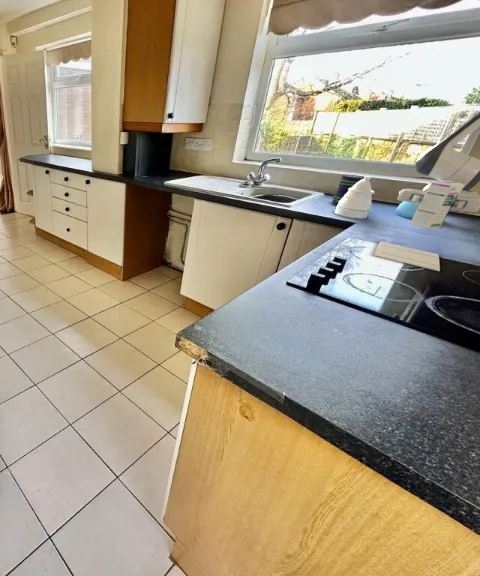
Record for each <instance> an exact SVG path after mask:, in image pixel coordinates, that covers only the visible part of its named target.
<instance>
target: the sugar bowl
mask: <svg viewBox="0 0 480 576" xmlns="http://www.w3.org/2000/svg"><path fill="white" fill-rule="evenodd" d="M419 205H420V204H418V203H412V202H405V201H401V203H399V205H398V206H397V208H396V213H397V215H398V216H400V217H403V218H407V219H410V220H412V219H413V217H414V215H415V213H416V211H417V209H418V207H419Z"/></svg>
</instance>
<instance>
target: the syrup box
mask: <svg viewBox="0 0 480 576" xmlns="http://www.w3.org/2000/svg"><path fill="white" fill-rule="evenodd" d="M430 183H431V184H430ZM430 183H429V184H430V186H429V188H428V190H427V191H426V193H425V195H424V197H423V199H422V201H421V203H420V205H419V207H418V209H417V211H416V213H415V215H414V217H413V219H411V220H410V224H409V225H412V226H415V227H419V228H423V229H426V230H430V229H441V227H442V225H443V224H444V222H445V220H446V218H447V216H448V215H449V213H450V211H451V210H450V209H451V208H452V205H453V204H454V202H455V201H456V199H457V197H458V195H459V193H460V192H461V190H462V188H463V186H464V184H463V183H459V182H452V181H439V180H432V181H431V182H430Z"/></svg>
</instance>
